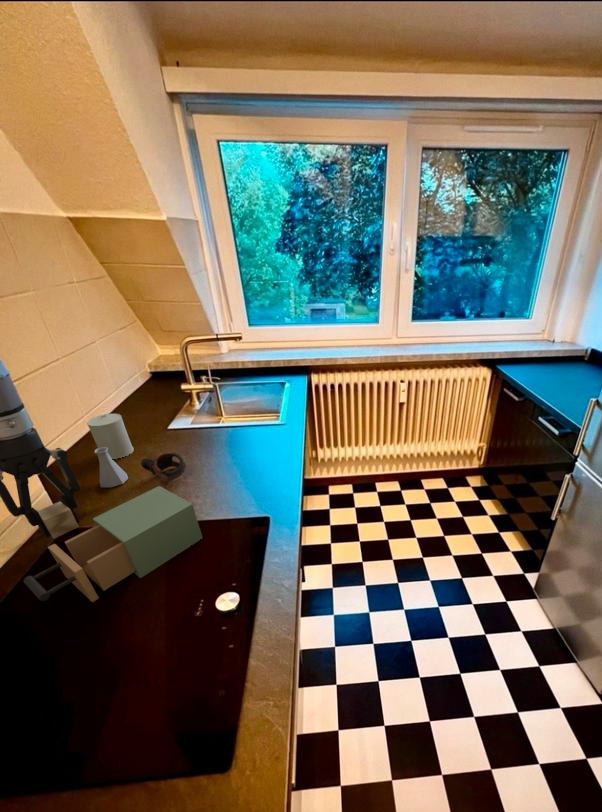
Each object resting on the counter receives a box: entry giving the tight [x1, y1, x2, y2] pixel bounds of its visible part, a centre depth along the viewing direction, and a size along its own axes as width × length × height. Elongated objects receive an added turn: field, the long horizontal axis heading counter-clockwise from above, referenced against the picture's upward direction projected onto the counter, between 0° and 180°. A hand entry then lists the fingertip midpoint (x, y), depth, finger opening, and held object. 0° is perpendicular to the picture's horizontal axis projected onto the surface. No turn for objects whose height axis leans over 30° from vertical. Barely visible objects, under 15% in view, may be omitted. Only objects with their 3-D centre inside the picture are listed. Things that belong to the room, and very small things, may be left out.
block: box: [37, 501, 80, 539], centre depth 85 cm, size 5×5×5 cm
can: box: [86, 413, 135, 460], centre depth 119 cm, size 9×9×12 cm
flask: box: [94, 447, 129, 488], centre depth 105 cm, size 7×7×10 cm
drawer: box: [23, 525, 136, 603], centre depth 74 cm, size 19×11×8 cm, turn 145°
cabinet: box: [92, 485, 204, 579], centre depth 83 cm, size 15×13×10 cm
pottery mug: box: [140, 451, 188, 485], centre depth 108 cm, size 12×10×8 cm
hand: (61, 527), depth 86 cm, fingers closed on block, 5 cm apart
